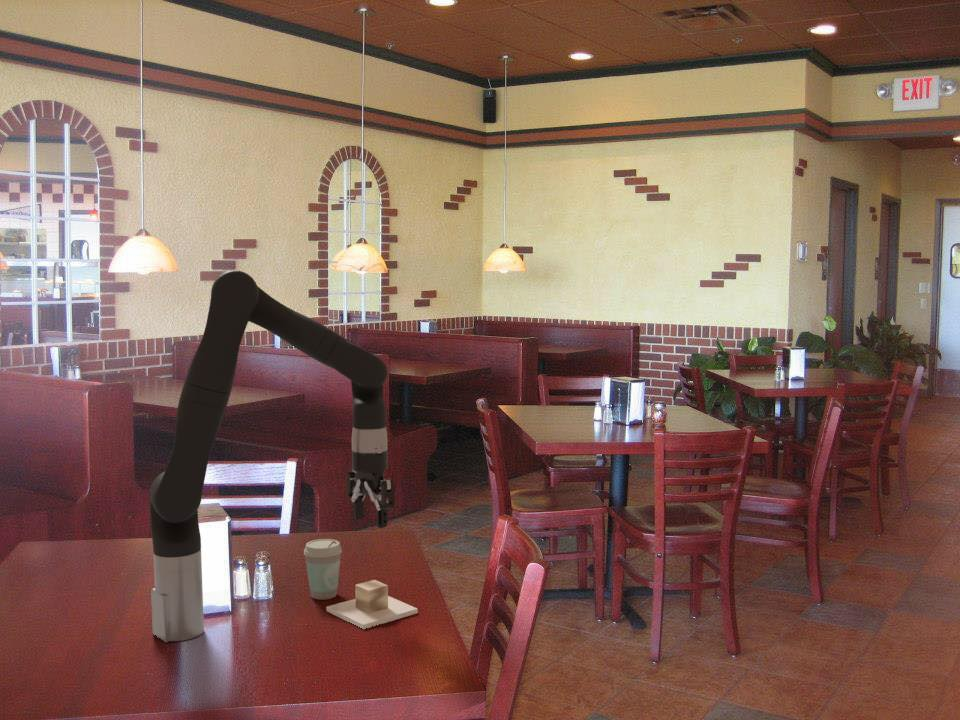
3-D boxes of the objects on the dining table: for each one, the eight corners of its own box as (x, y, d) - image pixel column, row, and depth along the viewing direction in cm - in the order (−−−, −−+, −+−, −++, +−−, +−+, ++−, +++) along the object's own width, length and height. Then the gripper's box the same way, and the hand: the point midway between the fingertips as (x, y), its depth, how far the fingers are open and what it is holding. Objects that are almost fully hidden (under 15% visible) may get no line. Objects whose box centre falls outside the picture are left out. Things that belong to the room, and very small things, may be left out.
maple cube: (369, 613, 208) (368, 590, 208) (355, 607, 212) (355, 584, 211) (388, 607, 211) (387, 585, 211) (374, 601, 215) (374, 579, 215)
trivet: (363, 629, 202) (363, 624, 202) (326, 611, 212) (326, 606, 212) (417, 613, 211) (417, 608, 211) (379, 596, 222) (379, 592, 222)
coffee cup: (323, 604, 217) (322, 551, 215) (296, 596, 222) (295, 544, 220) (350, 594, 223) (349, 542, 222) (324, 586, 228) (323, 536, 227)
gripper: (336, 445, 211) (337, 519, 213) (374, 455, 200) (375, 533, 202) (365, 441, 216) (366, 513, 218) (404, 450, 205) (404, 526, 207)
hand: (370, 523), depth 210 cm, fingers open, 8 cm apart
